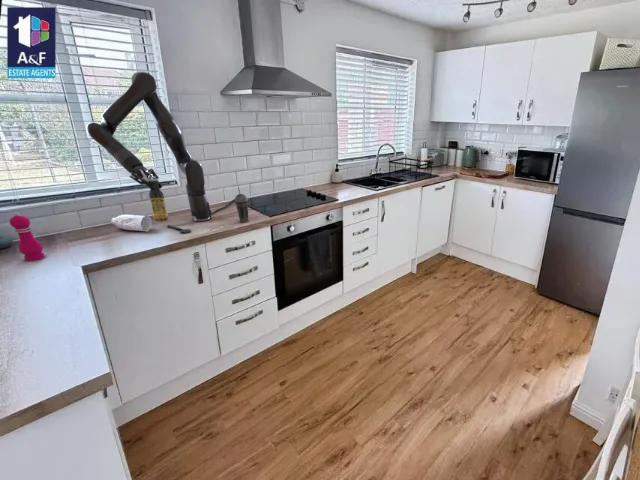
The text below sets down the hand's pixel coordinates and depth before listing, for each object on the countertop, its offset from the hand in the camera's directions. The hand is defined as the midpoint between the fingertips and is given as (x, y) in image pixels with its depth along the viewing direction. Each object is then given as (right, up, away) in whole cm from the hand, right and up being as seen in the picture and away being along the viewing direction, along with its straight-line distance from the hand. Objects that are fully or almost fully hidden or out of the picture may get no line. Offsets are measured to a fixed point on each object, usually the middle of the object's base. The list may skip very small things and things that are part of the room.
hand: (157, 188), depth 177 cm
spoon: (+1, -18, +17) cm, 25 cm away
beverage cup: (+28, -10, +35) cm, 46 cm away
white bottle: (-22, -18, +15) cm, 32 cm away
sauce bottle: (-3, -14, +8) cm, 16 cm away
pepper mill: (-39, -36, -22) cm, 57 cm away
